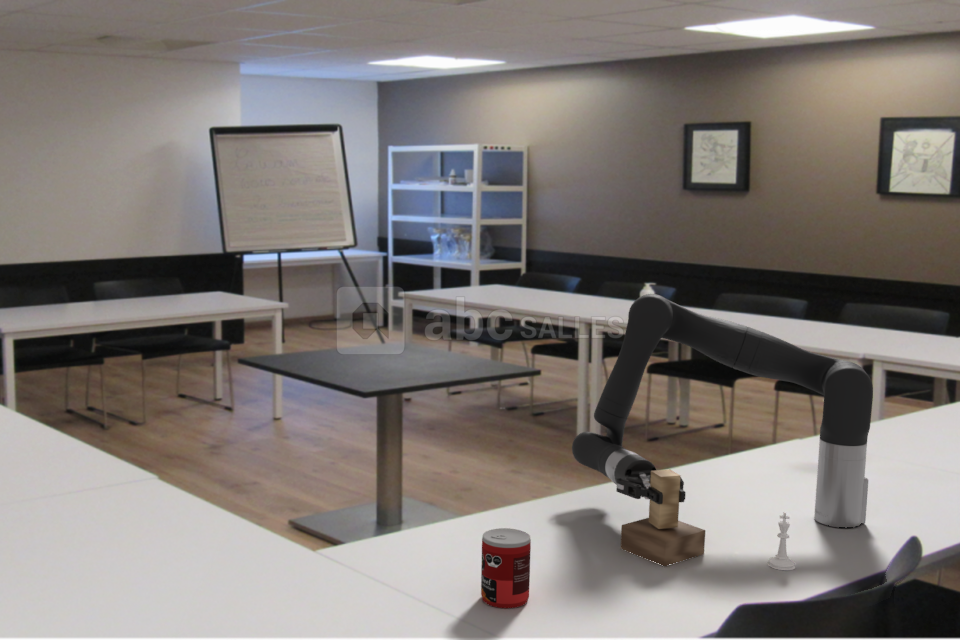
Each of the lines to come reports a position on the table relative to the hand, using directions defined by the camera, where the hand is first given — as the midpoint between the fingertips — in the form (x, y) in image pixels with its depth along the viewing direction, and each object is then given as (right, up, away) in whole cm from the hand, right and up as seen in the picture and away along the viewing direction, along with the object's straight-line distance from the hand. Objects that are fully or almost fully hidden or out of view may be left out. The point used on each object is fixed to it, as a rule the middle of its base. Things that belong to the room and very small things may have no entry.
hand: (672, 498), depth 183 cm
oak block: (-1, -6, +3) cm, 7 cm away
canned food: (-31, -14, -19) cm, 39 cm away
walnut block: (-1, -11, +4) cm, 12 cm away
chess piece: (+20, -12, -2) cm, 23 cm away
